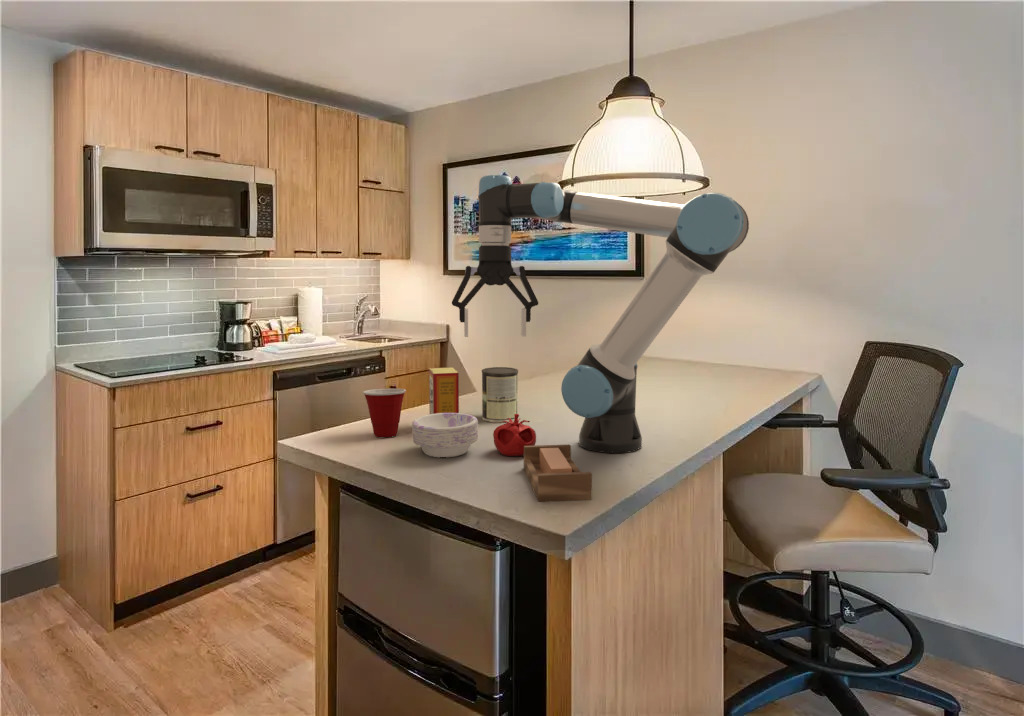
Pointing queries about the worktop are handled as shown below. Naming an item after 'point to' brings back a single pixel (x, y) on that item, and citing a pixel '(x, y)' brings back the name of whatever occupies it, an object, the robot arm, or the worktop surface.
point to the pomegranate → (513, 437)
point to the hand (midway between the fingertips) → (495, 336)
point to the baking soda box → (443, 390)
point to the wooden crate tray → (556, 477)
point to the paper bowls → (445, 433)
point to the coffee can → (499, 394)
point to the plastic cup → (385, 410)
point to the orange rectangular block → (553, 461)
